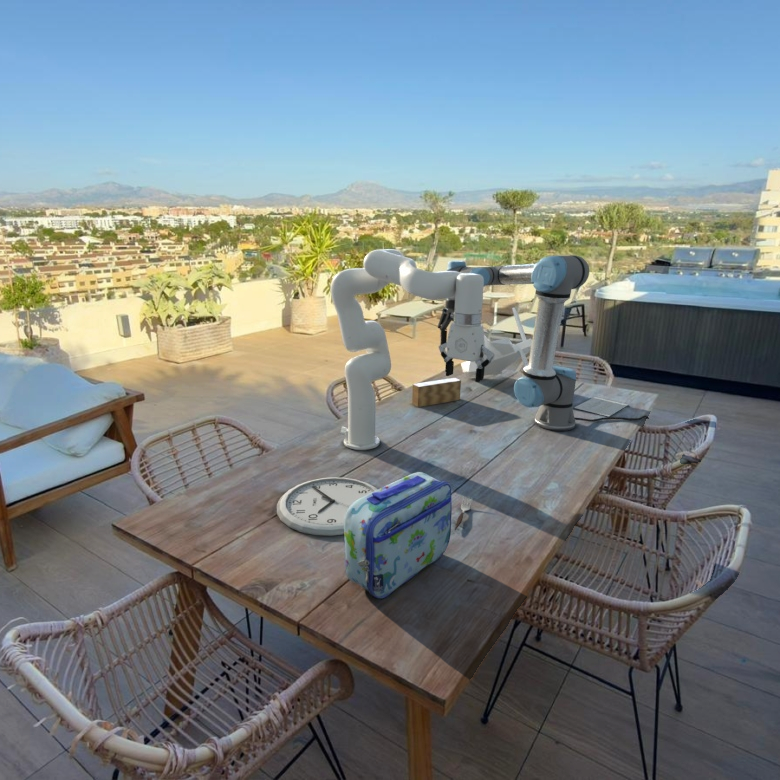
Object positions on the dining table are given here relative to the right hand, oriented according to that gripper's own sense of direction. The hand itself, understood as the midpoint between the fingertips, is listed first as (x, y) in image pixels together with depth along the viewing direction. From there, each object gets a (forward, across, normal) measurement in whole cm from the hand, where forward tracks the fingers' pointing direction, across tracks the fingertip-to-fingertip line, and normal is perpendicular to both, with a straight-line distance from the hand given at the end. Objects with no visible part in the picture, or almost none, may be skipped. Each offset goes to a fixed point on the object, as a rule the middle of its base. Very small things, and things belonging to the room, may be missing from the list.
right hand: (452, 348), depth 225 cm
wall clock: (+24, +61, -82) cm, 105 cm away
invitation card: (+24, +37, +54) cm, 69 cm away
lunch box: (+24, +94, -81) cm, 126 cm away
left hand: (-8, +63, -42) cm, 76 cm away
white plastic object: (+23, -9, +36) cm, 44 cm away
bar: (+23, 0, -7) cm, 24 cm away
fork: (+24, +82, -55) cm, 101 cm away
